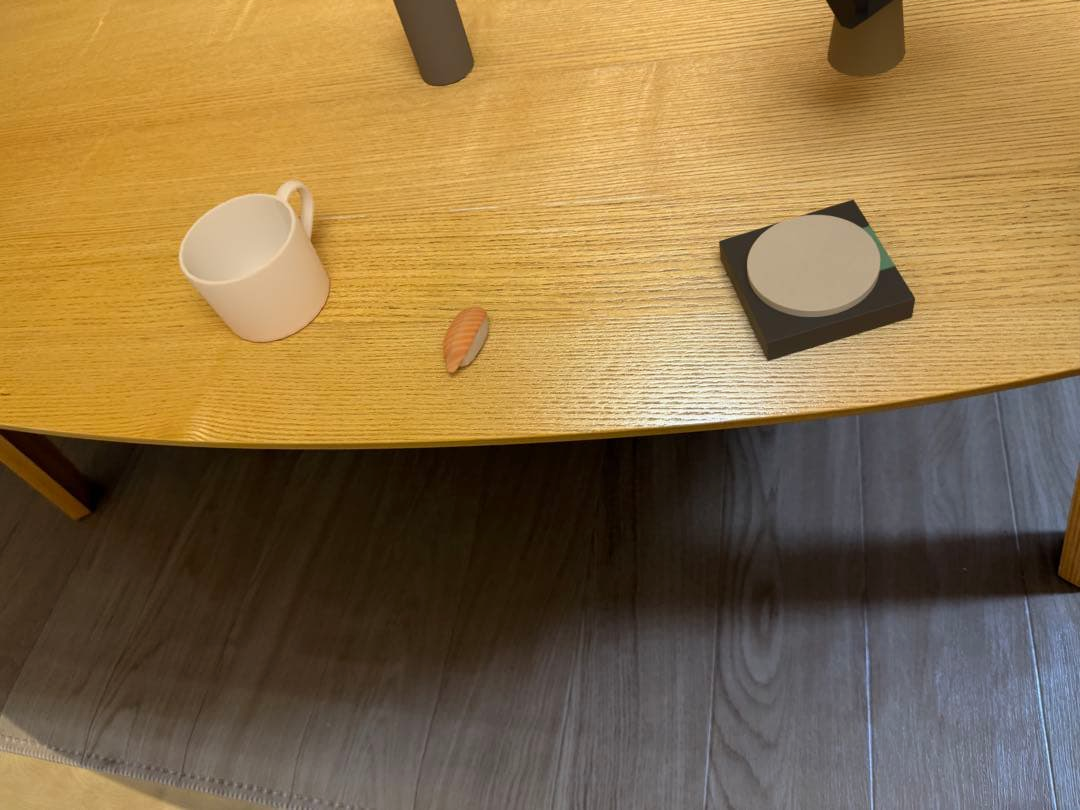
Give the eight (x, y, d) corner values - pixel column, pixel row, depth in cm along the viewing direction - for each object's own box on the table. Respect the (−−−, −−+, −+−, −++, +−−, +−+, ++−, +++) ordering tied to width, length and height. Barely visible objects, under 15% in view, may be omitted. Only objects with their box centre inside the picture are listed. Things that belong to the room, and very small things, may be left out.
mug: (283, 361, 80) (239, 300, 74) (201, 325, 85) (152, 264, 78) (376, 252, 85) (342, 186, 79) (293, 223, 90) (255, 159, 84)
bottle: (412, 84, 99) (360, -51, 87) (435, 49, 102) (388, -87, 90) (460, 88, 97) (414, -50, 85) (483, 52, 99) (441, -87, 87)
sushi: (498, 321, 78) (489, 297, 75) (468, 383, 75) (458, 360, 72) (470, 316, 79) (460, 292, 76) (439, 377, 76) (428, 354, 73)
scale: (852, 218, 76) (854, 191, 73) (912, 317, 69) (916, 290, 67) (720, 259, 76) (718, 233, 74) (767, 361, 70) (767, 336, 67)
